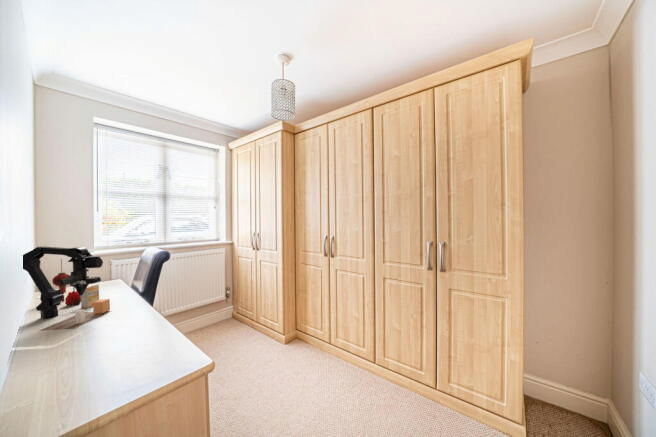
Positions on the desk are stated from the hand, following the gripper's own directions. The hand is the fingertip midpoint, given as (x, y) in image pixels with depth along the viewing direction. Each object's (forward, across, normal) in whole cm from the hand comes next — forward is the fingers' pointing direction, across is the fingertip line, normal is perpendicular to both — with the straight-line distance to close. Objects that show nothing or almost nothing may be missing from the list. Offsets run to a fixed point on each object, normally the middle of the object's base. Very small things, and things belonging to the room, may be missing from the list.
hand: (81, 295), depth 149 cm
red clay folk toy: (+12, -24, +22) cm, 35 cm away
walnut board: (+12, +6, -9) cm, 16 cm away
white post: (+12, +10, -13) cm, 21 cm away
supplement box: (+12, -10, +18) cm, 24 cm away
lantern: (+12, -38, +30) cm, 50 cm away
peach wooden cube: (+10, +10, +1) cm, 15 cm away
